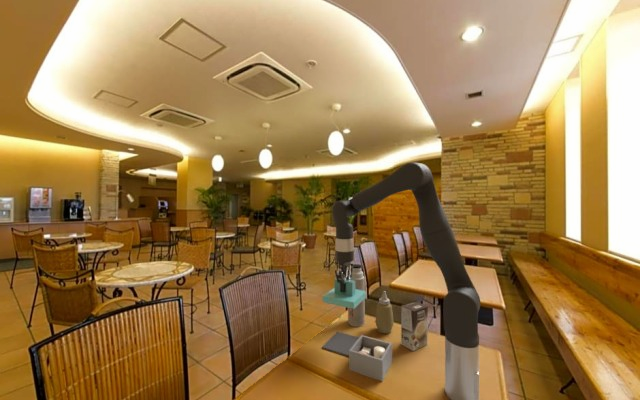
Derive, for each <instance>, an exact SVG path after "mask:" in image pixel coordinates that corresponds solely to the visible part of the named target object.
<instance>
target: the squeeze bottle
mask: <svg viewBox="0 0 640 400" xmlns="http://www.w3.org/2000/svg"><path fill="white" fill-rule="evenodd" d="M374 322H375V325H376V328H377V331H378V333H381V334H385V335H388V334H390V333H391V332H392V330H393V327H394V324H395V323H394V314H393V306H392V304H391V301H390V299H389V298H388V296H387V292H386V290H383V291H382V295H381V297H380V298H379V299H378V303H377V304H376V311H375V321H374Z"/></svg>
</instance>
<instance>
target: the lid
mask: <svg viewBox="0 0 640 400" xmlns="http://www.w3.org/2000/svg"><path fill="white" fill-rule="evenodd" d="M333 283H334V287H333V288H332V289H330V290H329V291H328V292H326V293H325V294H323V295H322V297H321V298H322V301H321V302H322V303H325V304H330V305H334V306H337V307H338V306H339V307H343V308H347V309H348V308H351V309H354V308H355V307H356V306H358V305H359V304H360V303H361V302H362V301H363V300H364V299H365V300H366V298H367V290H365V291H363V290H357V289H355V281H354V280H348V279H346V292H345V293H343V292H340V283H338V282H337V279H336V278H335V279H334V282H333Z"/></svg>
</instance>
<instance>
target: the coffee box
mask: <svg viewBox="0 0 640 400" xmlns="http://www.w3.org/2000/svg"><path fill="white" fill-rule="evenodd" d="M428 312H429V306H428V305H426V304H423V303H421V302H417V301H413V302H410V303H407V304H402V305H401V312H400V313H401V315H400V316H401V317H400V318H401V320H400V322H401V325H400V327H401V328H400V329H401V330H400V338H401V339H400V345H402V346H404V347H406V349H409V350H410V351H412V352H414V351H417V350H419V349H421V348H423V347H425V346H427V345H428V334H429V333H428V325H429V323H428V322H429V321H428V320H429V319H428V318H429V315H428Z"/></svg>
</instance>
